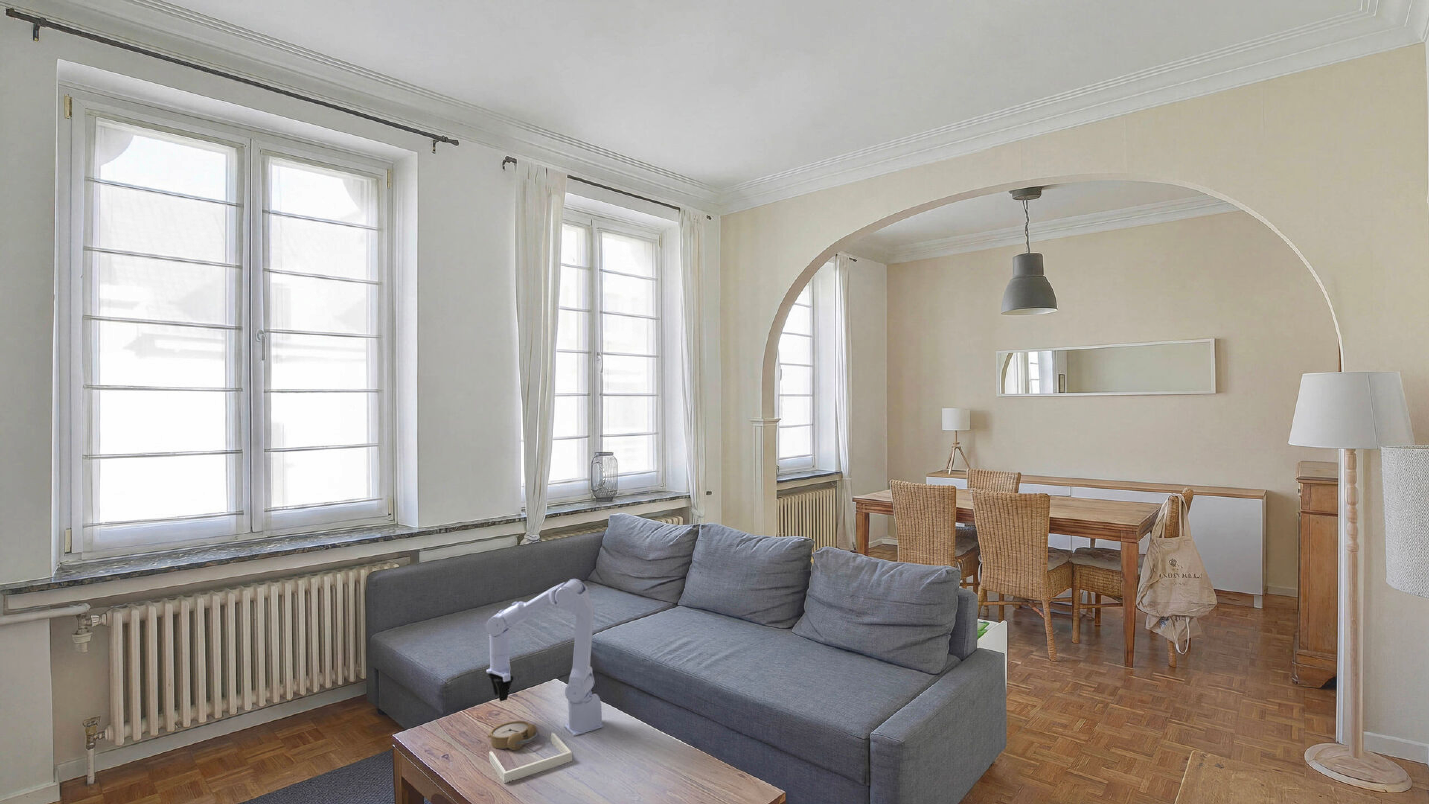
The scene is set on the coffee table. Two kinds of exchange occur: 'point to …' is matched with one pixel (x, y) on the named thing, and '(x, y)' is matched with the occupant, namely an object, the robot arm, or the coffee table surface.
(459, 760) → the coffee table surface
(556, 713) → the coffee table surface
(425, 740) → the coffee table surface
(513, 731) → the alarm clock
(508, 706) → the coffee table surface
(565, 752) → the clock dock
